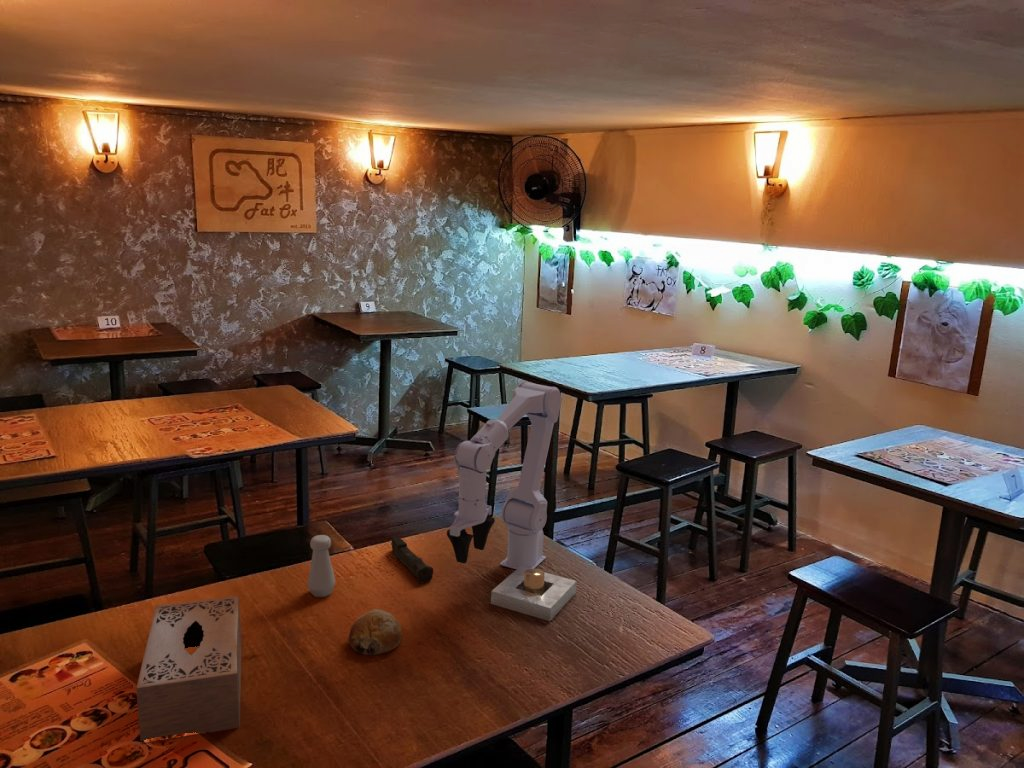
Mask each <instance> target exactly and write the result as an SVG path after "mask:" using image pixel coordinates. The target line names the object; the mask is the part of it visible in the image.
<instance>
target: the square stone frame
mask: <svg viewBox="0 0 1024 768" xmlns="http://www.w3.org/2000/svg"><path fill="white" fill-rule="evenodd" d="M528 569H530V568H526V567H522V566H520V567H519V568H518V569H514V571H513V572H512V573H511V574H509V575H508V576H507V577H506V578H504V580H502V582H500V583H499V584H497V586H496V587H494V588H493V589H492V590H491V593H490V595H491V596H490V604H491V605H494V606H497V607H500V608H504V609H507V610H510V611H514V612H516V613H517V612H518V613H519V614H520V613H521V614H524V615H527V616H530V617H534V618H538V619H540V620H544V621H548V622H551V621H552V620H553V619H554V617H555V616H556V615H558V613H559V612H560V611H561V610H562V609H563V608H564V607H565V606H566V604H568V602H569V601H570V600H571V599H572V598H573V597H574V596H575V595H576V593H577V580H574V579H570V578H567V577H563V576H561V575H560V576H559V575H556V574H552V573H549V572H545V571H543V572H544V594H543V595H542V596H541V595H537V594H534V593H530V592H527V591H524V572H525V571H526V570H528Z"/></svg>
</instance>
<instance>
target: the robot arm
mask: <svg viewBox="0 0 1024 768" xmlns="http://www.w3.org/2000/svg"><path fill="white" fill-rule="evenodd" d="M562 401H563V397H562V394H561V391H560V389H559V388H558V387H556V386H548V385H544V384H538V383H533V382H528V381H525V380H524V381H520V382H519V384H518V385H517V386H516V387H515V388H514V389H513V394H512V400H511V401H510V402H509V403H508V404H507V406H506V407H505V408H504V410H503V411H502V412H501V413H500V415H499V416H498V417H497V419H489V420H487V421H486V423H485V424H484V425H483V426H482V427H481V428H480V429H479V430H478V431H477V432H476V434H474V435H473V436H472V437H471V439H469V440H464V441H463V442H460V443H459V444H458V445H457V447H456V448H455V452H454V455H453V462H454V464H455V466H456V473H457V474H458V476H459V478H458V479H459V480H458V481H459V483H458V510H457V511H455V512H454V513H453V516H454V517H455V519H454V521H453V523H452V524H451V525H450V526H449V529H447V531H446V536H447V538H448V539H449V542H450V543H451V544H452V548H453V551H454V556H455V560H456V562H457V563H460V564H466V563H467V561H468V559H469V550H470V545H471V542H472V539H473V547H474V549H476V550H479V551H483V550H485V547H486V543H487V541H488V536H489V533H490V531H491V529H492V526H493V525H494V523H495V522H496V521H495V517H492V516H491V515H492V510H493V509H492V507H493V506H492V505H488V504H486V497H487V495H486V493H487V491H486V490H487V489H486V487H487V470H488V469H490V467H491V466H492V463H493V459H494V458H495V456H496V452H497V451H498V449H500V448H501V446H502V445H503V444H504V443H505V442H506V441H507V440H508V438H509V431H510V430H511V428H513V426H515V425H516V424H517V423H518V422H519V421H520V420H521V419H522V418H524V417H525V416H526V417H528V419H529V421H530V423H531V425H530V429H529V435H528V439H527V445H526V448H525V453H524V456H523V457H524V458H523V463H522V466H521V471H520V477H519V481H518V485H517V487H516V488H514V489H513V490H511V491H509V492H508V493H507V496H506V500H505V501H504V504H503V505H502V507H501V513H500V515H501V519H502V522H503V523H504V524H505V528H506V529H508V532H507V533H508V534H507V554H506V558H505V559H503V560H502V561H501V562H500V566H503V567H507V568H509V569H510V568H511V569H514V570H516V569H518V568H519V567H520V566H522V567H526V568H530V569H537V567H538V566H539V565H540V564H541V563H543V561H545V559H546V558H547V556H546V555H543V551H544V530H543V528H544V527H545V525H546V523H547V521H548V520H547V518H548V514H547V510H548V501H547V499H546V498H545V496H544V495H543V494H542V493H541V492H540V490H541V485H542V482H543V481H542V480H543V475H544V471H545V466H546V462H547V457H548V452H549V448H550V443H551V438H552V435H553V429H554V424H555V423H557V422H558V419H559V415H560V412H561V411H560V410H561V408H562V407H561V406H562ZM470 527H471V529H472V534H470V533H468V532H467V531H466V530H467V529H468V528H470Z"/></svg>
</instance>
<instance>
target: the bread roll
mask: <svg viewBox="0 0 1024 768" xmlns="http://www.w3.org/2000/svg"><path fill="white" fill-rule="evenodd" d="M402 636H403V635H402V628H401V624H400V622H398V620H397V619H396V618H395V617H394V615H392V614H391V613H390V612H388V611H386V610H383V609H378V608H373V609H371V610H370V611H368V612H365V613H363V614H362V615H361V616H360V617H359V616H358V618H356V620H355V621H354V623H353V624H352V626H351V628H350V631H349V636H348V641H349V642H348V643H349V646H351V648H352V650H354V651H355V652H357V653H359V654H362V655H365V656H366V655H367V656H372V655H373V656H376V655H381V654H386V653H390V652H391V651H392V650H394V649H396V648H397V647H398V646H399V644H400V643H401V641H402Z"/></svg>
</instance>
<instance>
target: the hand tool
mask: <svg viewBox="0 0 1024 768" xmlns="http://www.w3.org/2000/svg"><path fill="white" fill-rule="evenodd" d="M390 544H391V551H392V554H393V556H394V558H395V560H396V561H400V562H401V563H402V565H404V567H406V568H407V569H408V570H409V572H410V573H412V574H413V575H414V576H415V577H416V581H417V582H418V584H425V583H428V582H430V581H432V579H433V574H434V568H433V567H432V566H430V565H427V564H426V563H425V562H424V561H423V560H422V559H423V558H421V557H418V556H417V555H416V554H415V553H414V552H413V551H412V550H411V549H409V547H408V544H407V542H406V541H405V540H404V539H402V538H400V537H399V536H394V537H393V538H391V542H390ZM424 582H425V583H424Z"/></svg>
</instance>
